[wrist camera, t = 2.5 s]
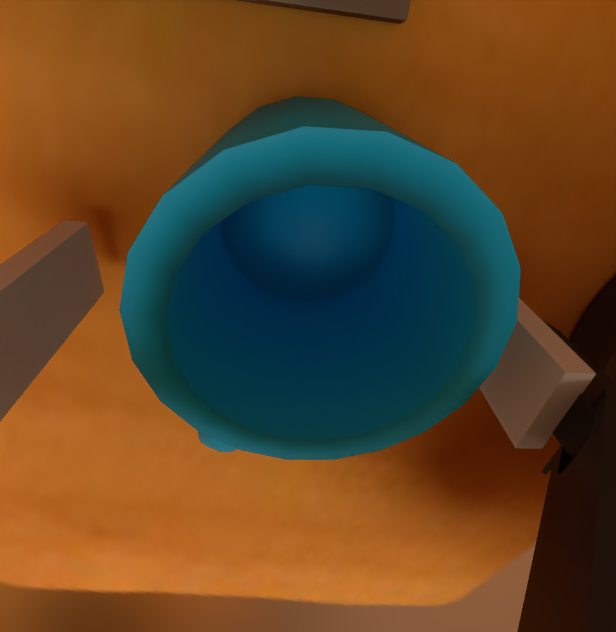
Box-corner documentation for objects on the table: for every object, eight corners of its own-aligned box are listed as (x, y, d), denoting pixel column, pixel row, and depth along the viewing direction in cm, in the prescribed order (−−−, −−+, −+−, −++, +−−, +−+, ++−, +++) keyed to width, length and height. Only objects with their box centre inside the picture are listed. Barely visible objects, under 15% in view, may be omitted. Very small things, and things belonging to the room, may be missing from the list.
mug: (260, 39, 11) (220, -8, 5) (454, 176, 14) (610, 275, 7) (143, 319, 17) (45, 485, 10) (297, 381, 20) (302, 547, 13)
